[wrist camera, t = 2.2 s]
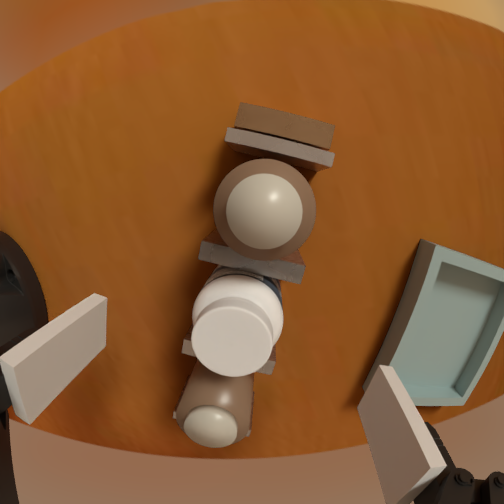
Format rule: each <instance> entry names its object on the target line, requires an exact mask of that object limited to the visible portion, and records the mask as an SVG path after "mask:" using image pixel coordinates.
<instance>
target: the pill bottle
mask: <svg viewBox="0 0 504 504" xmlns="http://www.w3.org/2000/svg"><path fill="white" fill-rule="evenodd" d="M192 320H193V326H194V327H193V330H192V335H191V343H192V348H193V351H194V353H195V355H196V357H197V358H198V359H199V361H200V362H201V363H202V364H203V365H204V366H205V367H207V368H208V369H210V370H211V371H213V372H215V373H218V374H220V375H224V376H230V377H239V376H245V375H248V374H251V373H254V372H255V371H257V370H259V369H260V368H261V367H262V366H263V365H264V364H265V363H266V362H267V360H268V359H269V357H270V354H271V352H272V347H273V346H274V345H275V343H276V342H277V340H278V339H279V337H280V334H281V331H282V327H283V308H282V297H281V287H280V282H279V279H276V278H272V277H268V276H264V275H260V274H256V273H252V272H248V271H244V270H239V269H235V268H231V267H227V266H223V265H218V266H217V267H216V268H215V270H214V271H213V273H212V274H211V276H210V277H209V279H208V280H207V282H206V283H205V285H204V286H203V288H202V289H201V291H200V293H199V294H198V296H197V298H196V301H195V303H194V307H193V312H192Z"/></svg>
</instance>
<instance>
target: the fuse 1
mask: <svg viewBox="0 0 504 504" xmlns="http://www.w3.org/2000/svg"><path fill="white" fill-rule="evenodd" d="M253 382H254V373H251V374H248V375H245V376H239V377H230V376H224V375H220V374H218V373H215V372H213V371H211V370H210V369H208V368H207V367H205V366H204V365H203V364H202V363H201V362H200V361H199V359H197V361H196V364H195V366H194V369H193V371H192V373H191V376H190V378H189V381H188V383H187V386H186V388H185V391H184V393H183V396H182V398H181V401H180V403H179V406H178V408H177V411H176V420H177V423H178V425H179V427H180V428H181V429H182V430H183V432H185V433H186V434H187V436H188V437H189V438H190V439H191V440H193V441H194V442H196V443H198V444H200V445H203V446H206V447H212V448H220V447H225V446H228V445H230V444H234V443H236V442H238V441H240V440H242V439H243V438H244V437H245V436H246V435H247V433H248V431H249V425H250V415H251V404H252V393H253Z"/></svg>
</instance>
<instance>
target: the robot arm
mask: <svg viewBox="0 0 504 504" xmlns="http://www.w3.org/2000/svg"><path fill="white" fill-rule="evenodd" d="M106 315H107V298H106V297H104V296H101V295H98V294H95V293H94V294H92V295H91V296H89V297H87V298H86V299H84V300H83V301H81V302H80V303H78V304H77V305H75V306H73V307H72V308H70V309H69V310H67V311H66V312H64V313H63V314H61V315H60V316H58V317H57V318H55V319H54V320H52V321H51V322H49V323H48V317H47V309H46V304H45V300H44V296H43V292H42V289H41V286H40V283H39V281H38V278H37V276H36V273H35V271H34V269H33V267H32V265H31V263H30V261H29V260H28V258H27V256H26V255H25V253H24V252H23V250H22V249H21V248H20V246H19V245H18V244H17V243H16V242H15V241H14V240H13V239H12V238H11V237H10V236H9V235H7V234H6V233H4V232H2V231H0V504H19V500H18V495H17V491H16V485H15V478H14V473H13V464H12V456H11V446H10V432H9V414H8V410H7V409H8V408H9V407H10V406H11V405H12V406H13V409H14V412H15V414H16V416H18V417H19V418H21V419H22V420H24V421H25V422H27V423H28V424H29V425H30V424H31V423H32V422H33V421H34V420H35V419H36V418H37V417H38V416H39V415H40V413H41V412H42V411H43V410H44V409H45V408H46V407H47V406H48V405H49V404H50V403H51V402H52V401H53V400H54V399H55V398H56V396H57V395H58V394H59V393H60V392H61V391H62V390H63V389H64V388H65V387H66V386H67V385H68V384H69V383H70V382H71V381H72V380H73V379H74V378H75V377H76V376H77V375H78V374H79V373H80V372H81V371H82V370H83V369H84V368H85V367H86V366H87V365H88V363H89V362H90V361H91V360H92V359H93V358H94V357H95V356H96V355H97V354H98V353H99V352H100V351H101V350H102V349H103V348H104V347H105V346H106ZM357 409H358V412H359V415H360V418H361V422H362V425H363V428H364V431H365V434H366V437H367V440H368V444H369V446H370V450H371V453H372V457H373V460H374V464H375V467H376V470H377V474H378V477H379V480H380V484H381V488H382V491H383V495H384V498H385V502H386V504H410V503H411V502H412V501H414V504H504V473H501V472H493V473H492V474H490V475H489V476H488V478H487V479H486V480H478V479H474V477H473V475H472V474H471V473H470V472H469V471H467V470H465V469H462V468H456V467H455V465H454V463H453V461H452V459H451V457H450V455H449V453H448V451H447V450H446V448H445V446H443V442H442V440H441V439H440V437H439V435H438V433H437V432H436V430H435V429H434V428H433V427H432V426H431V425H430V424H429V423H428V422H424V421H423V419H422V417H421V416H420V414H419V412H418V410H417V408H416V407H415V405H414V403H413V401H412V400H411V398H410V396H409V394H408V393H407V391H406V389H405V387H404V386H403V384H402V382H401V380H400V379H399V377H398V375H397V374H396V372H395V370H394V369H393V367H391V366H384V365H379V366H378V368H377V370H376V372H375V374H374V376H373V378H372V380H371V382H370V384H369V386H368V388H367V390H366V392H365V394H364V396H363V398H362V399H361V401H360V403H359V405H358V407H357Z"/></svg>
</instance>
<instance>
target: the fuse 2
mask: <svg viewBox="0 0 504 504" xmlns="http://www.w3.org/2000/svg"><path fill="white" fill-rule="evenodd" d="M213 214H214V220H215V225H216V227H217V230H218V232H219V234H220V236H221V237H222V239H223V240H224V241H225V243H226V244H227V245H228V246H229V247H230V248H231V249H233V250H234V251H235V252H237V253H238V254H240V255H242V256H244V257H247V258H250V259H253V260H259V261H270V260H276V259H280V258H283V257H286V256H288V255H290V254H291V253H293V252H294V251H296V250H297V249H298V248H299V247H300V246H302V244H303V243H304V242H305V241H306V240H307V238H308V237H309V235H310V233H311V231H312V229H313V226H314V222H315V217H316V203H315V198H314V194H313V191H312V189H311V187H310V185H309V183H308V182H307V180H306V179H305V178H304V177H303V176H302V174H301V173H300V172H298V171H297V170H296V169H295V168H293V167H292V166H290V165H288V164H286V163H284V162H281V161H278V160H273V159H256V160H251V161H248V162H245V163H243V164H241V165H239V166H237V167H236V168H234V169H233V170H232V171H231V172H230V173H228V174H227V175H226V177H225V178H224V179H223V180H222V182H221V184H220V185H219V187H218V189H217V192H216V195H215V198H214V205H213Z"/></svg>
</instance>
